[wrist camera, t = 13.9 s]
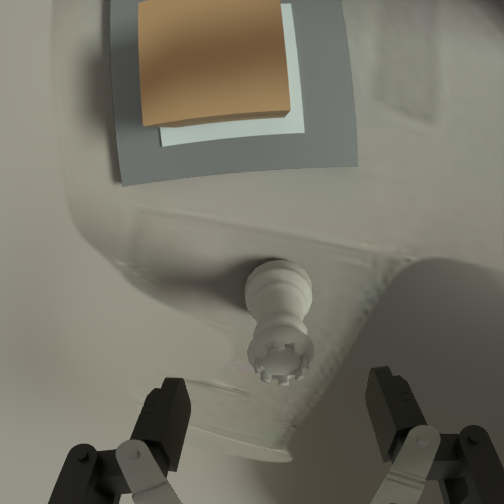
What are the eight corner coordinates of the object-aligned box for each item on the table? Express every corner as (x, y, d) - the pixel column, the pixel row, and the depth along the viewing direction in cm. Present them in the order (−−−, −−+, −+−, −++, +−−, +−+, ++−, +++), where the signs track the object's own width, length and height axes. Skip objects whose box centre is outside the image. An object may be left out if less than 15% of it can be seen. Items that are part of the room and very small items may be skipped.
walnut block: (170, 32, 14) (138, 2, 10) (275, 19, 14) (277, -19, 9) (176, 127, 16) (143, 126, 12) (284, 117, 16) (290, 110, 11)
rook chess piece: (243, 313, 22) (231, 395, 15) (247, 254, 20) (234, 323, 13) (306, 317, 22) (320, 400, 14) (315, 259, 20) (339, 330, 13)
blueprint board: (122, -62, 12) (115, -70, 11) (314, -89, 11) (316, -99, 10) (130, 183, 19) (121, 187, 18) (352, 164, 18) (358, 166, 17)
